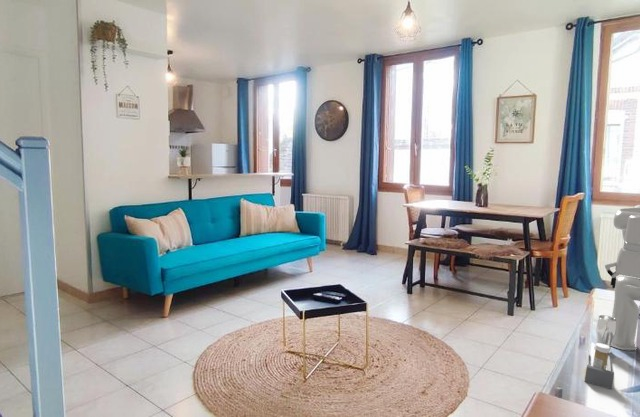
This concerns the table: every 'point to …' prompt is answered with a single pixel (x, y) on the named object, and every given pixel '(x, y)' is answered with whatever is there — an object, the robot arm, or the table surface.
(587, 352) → the guide channel
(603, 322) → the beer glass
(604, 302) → the table surface
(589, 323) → the table surface
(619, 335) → the robot arm
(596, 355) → the sprinkles bottle
